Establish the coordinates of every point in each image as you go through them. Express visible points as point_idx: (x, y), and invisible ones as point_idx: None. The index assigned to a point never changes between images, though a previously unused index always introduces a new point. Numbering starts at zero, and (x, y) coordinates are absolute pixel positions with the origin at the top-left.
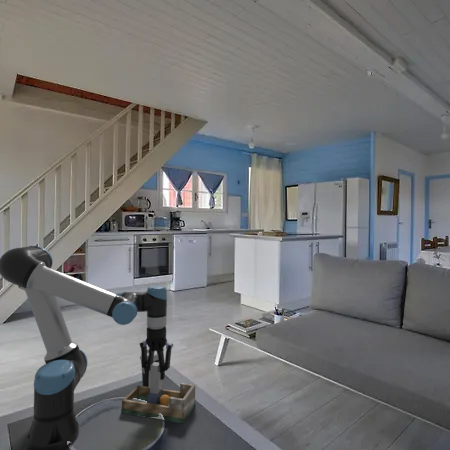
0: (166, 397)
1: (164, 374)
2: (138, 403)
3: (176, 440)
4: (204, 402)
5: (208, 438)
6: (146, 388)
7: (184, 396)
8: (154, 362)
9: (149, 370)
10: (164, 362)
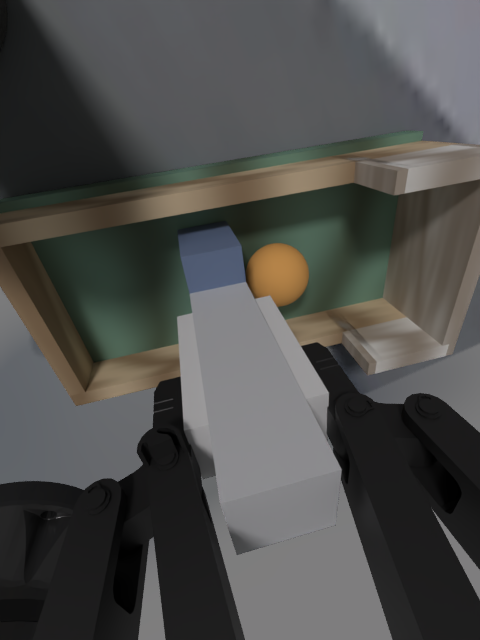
0: (301, 293)
1: (340, 372)
2: None
3: (378, 373)
4: (458, 77)
5: (473, 324)
6: (74, 233)
7: (448, 325)
8: (235, 505)
9: (199, 471)
10: (413, 480)
